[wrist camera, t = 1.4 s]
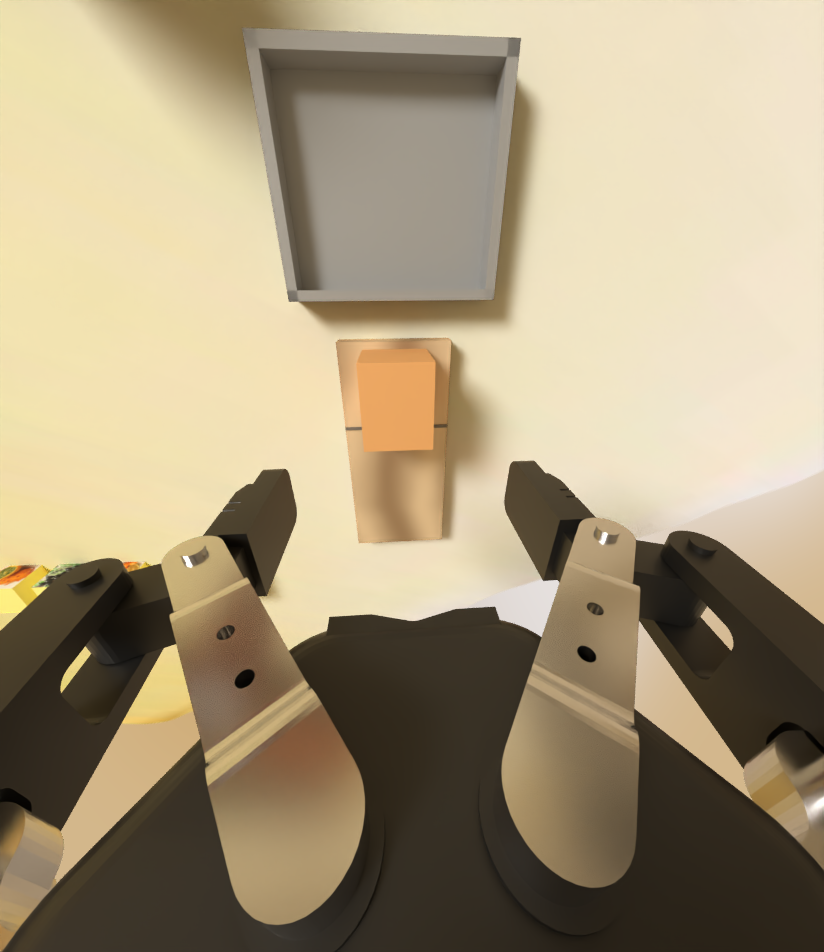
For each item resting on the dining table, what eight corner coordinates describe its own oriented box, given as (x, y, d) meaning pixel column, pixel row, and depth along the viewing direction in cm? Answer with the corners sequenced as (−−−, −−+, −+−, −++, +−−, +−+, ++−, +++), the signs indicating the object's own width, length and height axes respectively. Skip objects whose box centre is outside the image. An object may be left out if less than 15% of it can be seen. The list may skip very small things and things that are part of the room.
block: (426, 348, 23) (435, 361, 18) (425, 422, 25) (433, 449, 21) (362, 349, 23) (356, 363, 18) (367, 424, 25) (363, 451, 21)
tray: (506, 65, 17) (520, 37, 15) (484, 299, 23) (493, 299, 21) (258, 57, 17) (241, 27, 15) (297, 300, 22) (289, 301, 20)
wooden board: (447, 337, 24) (451, 340, 23) (439, 529, 33) (441, 539, 31) (338, 339, 23) (335, 342, 22) (359, 533, 32) (358, 543, 31)
